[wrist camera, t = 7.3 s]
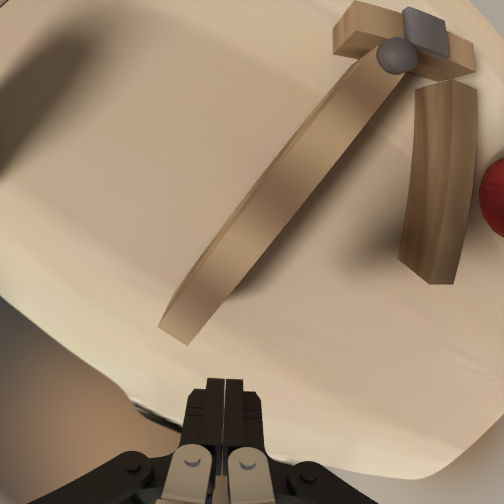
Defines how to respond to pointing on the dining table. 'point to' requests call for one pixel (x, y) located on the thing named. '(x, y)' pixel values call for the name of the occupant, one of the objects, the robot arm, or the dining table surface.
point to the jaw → (286, 186)
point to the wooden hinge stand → (428, 132)
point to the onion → (493, 196)
